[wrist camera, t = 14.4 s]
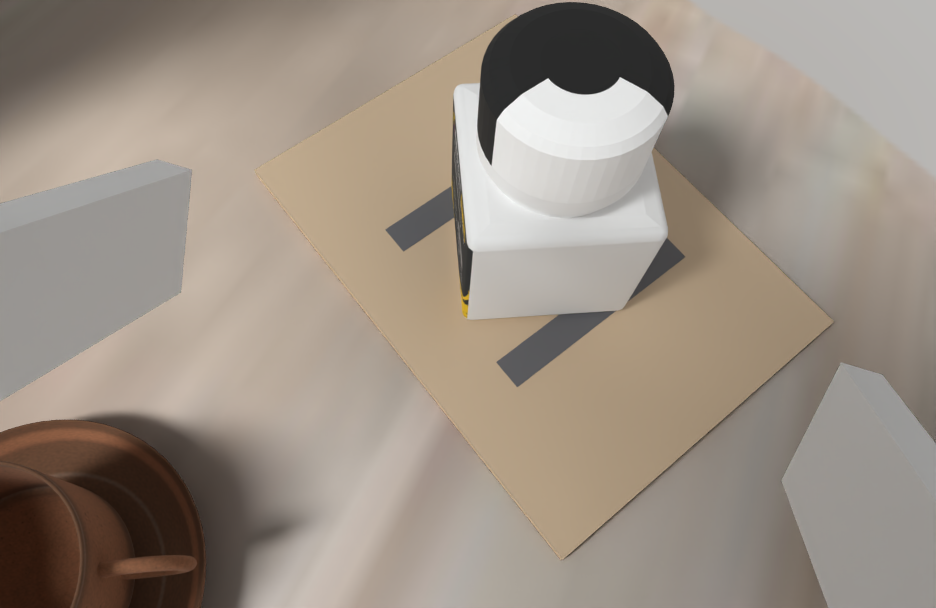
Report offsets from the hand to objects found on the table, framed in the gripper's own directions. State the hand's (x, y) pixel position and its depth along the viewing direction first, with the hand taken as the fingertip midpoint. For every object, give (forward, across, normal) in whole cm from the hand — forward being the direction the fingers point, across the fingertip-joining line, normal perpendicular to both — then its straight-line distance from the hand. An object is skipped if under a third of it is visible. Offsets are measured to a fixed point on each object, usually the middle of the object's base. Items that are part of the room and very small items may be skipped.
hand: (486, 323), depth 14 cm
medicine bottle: (+19, 0, -4) cm, 19 cm away
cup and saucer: (+5, -13, -18) cm, 23 cm away
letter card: (+19, 0, -4) cm, 19 cm away
